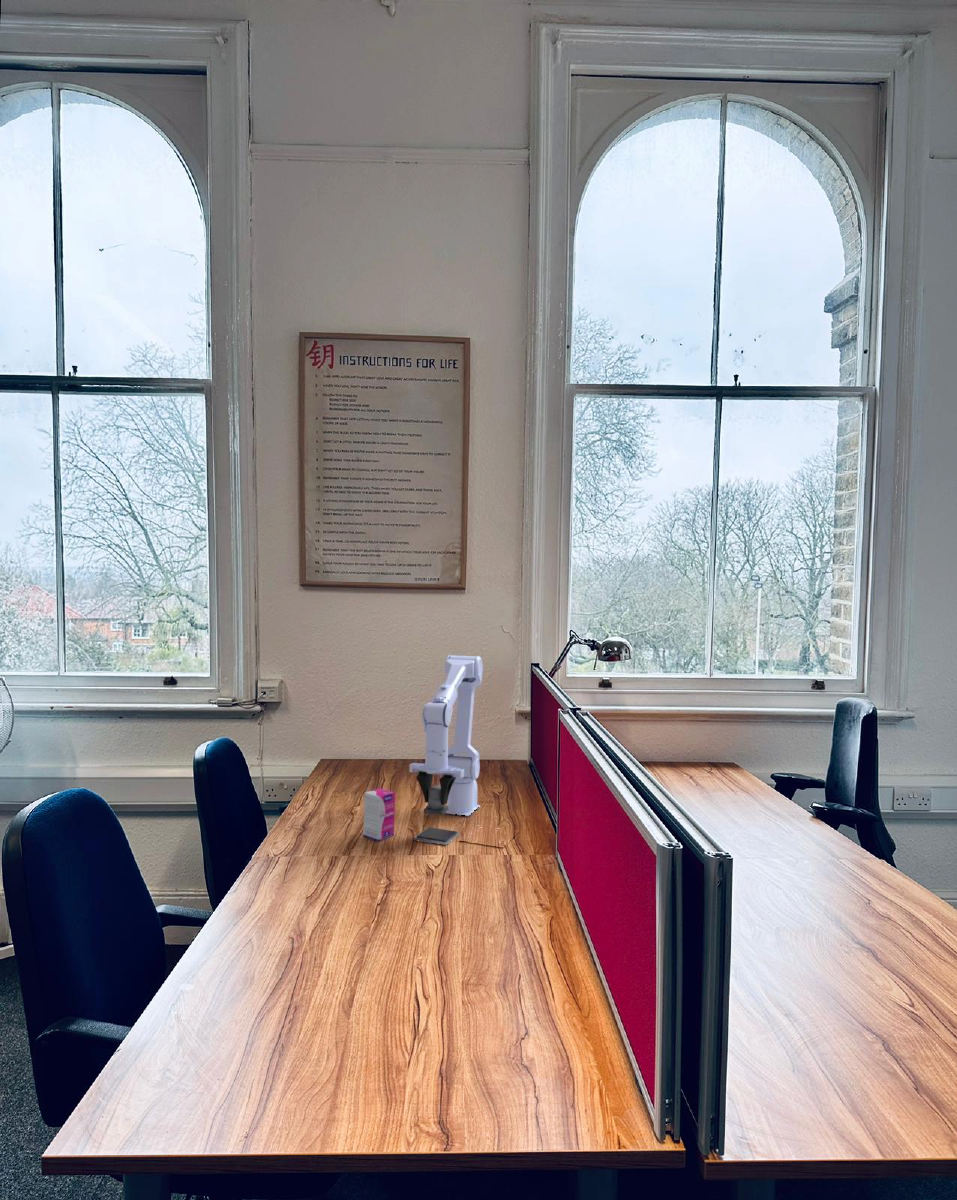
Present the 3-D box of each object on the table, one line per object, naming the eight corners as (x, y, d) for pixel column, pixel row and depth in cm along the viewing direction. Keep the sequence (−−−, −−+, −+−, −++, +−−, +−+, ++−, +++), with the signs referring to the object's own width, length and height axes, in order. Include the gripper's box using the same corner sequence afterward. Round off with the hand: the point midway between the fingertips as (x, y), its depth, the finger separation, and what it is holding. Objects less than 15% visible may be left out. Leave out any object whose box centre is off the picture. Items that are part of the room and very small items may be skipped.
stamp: (430, 807, 194) (430, 784, 194) (448, 809, 192) (448, 786, 192) (423, 813, 189) (423, 789, 189) (442, 815, 188) (442, 791, 187)
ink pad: (427, 830, 196) (427, 826, 196) (459, 835, 193) (459, 831, 193) (414, 840, 189) (414, 836, 188) (446, 845, 185) (446, 841, 185)
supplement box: (379, 842, 187) (379, 796, 187) (362, 836, 191) (362, 792, 190) (395, 835, 192) (395, 791, 191) (378, 830, 195) (379, 787, 195)
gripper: (403, 750, 189) (403, 803, 190) (456, 756, 184) (455, 811, 184) (416, 744, 196) (416, 795, 196) (467, 750, 190) (466, 803, 191)
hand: (436, 802), depth 191 cm, fingers closed on stamp, 4 cm apart
